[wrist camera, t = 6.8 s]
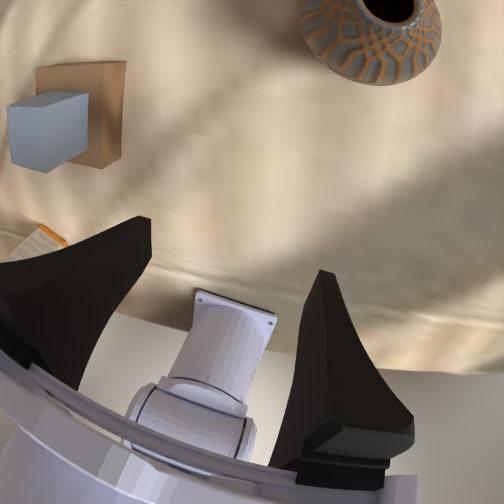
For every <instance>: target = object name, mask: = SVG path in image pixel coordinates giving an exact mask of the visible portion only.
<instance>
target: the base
mask: <svg viewBox="0 0 504 504" xmlns="http://www.w3.org/2000/svg"><path fill="white" fill-rule="evenodd" d="M126 62H127V61H102V62H79V63H65V64H56V65H51V66H47V67H42V68H38V69H37V73H36V95H39V94H42V93H46V92H49V91H70V92H89V97H88V150H86V151H84V152H82V153H80V154H79V155H77V156H75V157H73V158H71V159H70V160H68V162H73V163H77V164H82V165H86V166H90V167H95V168H99V169H103V168H104V167H106V166H108V165H109V164H111V163H113V162H114V161H116V160H118V159H119V158H121V131H122V109H123V94H124V82H125V72H126Z"/></svg>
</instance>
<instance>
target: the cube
mask: <svg viewBox="0 0 504 504" xmlns="http://www.w3.org/2000/svg"><path fill="white" fill-rule="evenodd" d="M88 97H89V92H70V91H49V92H46V93H42V94H39V95H36V96H33V97H31V98H28V99H25V100H22V101H19V102H17V103H14V104H12V105H9V106H7V121H8V134H9V145H10V154H11V161H12V164H15V165H18V166H22V167H25V168H29V169H32V170H36V171H39V172H43V173H48V172H49V171H51V170H53V169H54V168H56V167H58V166H59V165H61V164H63V163H64V162H66V161H68V160H70V159H71V158H73V157H75V156H77V155H79V154H80V153H82V152H84V151H86V150H88Z"/></svg>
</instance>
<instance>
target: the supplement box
mask: <svg viewBox="0 0 504 504" xmlns="http://www.w3.org/2000/svg"><path fill="white" fill-rule="evenodd" d="M65 247H66V242H65V241H64V240H63V239H62V238H60V237H59V236H57V235H56V234H55V233H53V232H52V231H50V230H49V229H48V228H46V227H45V226H44V225H41V226H40V227H38V228H37V229H36V230H35V231H34V232H32V233H31V234H30V235H29V236H28V237H27V238H26V239H24V240H23V241H22V242H21V243H20V244H19V245H18V246H17V247H16V248H14V249H13V250H12V251H11V252H10V253H9V254H8V255H7V256H6V257H5V258H4V259H3V260H2V261H0V263H3V262H11V261H17V260H22V259H27V258H32V257H36V256H40V255H43V254H47V253H50V252H54V251H57V250H60V249H63V248H65Z"/></svg>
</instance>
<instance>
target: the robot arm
mask: <svg viewBox="0 0 504 504" xmlns="http://www.w3.org/2000/svg"><path fill="white" fill-rule="evenodd" d="M151 257H152V246H151V219H149V218H146V217H142V216H136V217H134V218H131V219H129V220H127V221H125V222H122V223H120V224H118V225H116V226H114V227H112V228H110V229H107V230H105V231H103V232H101V233H99V234H97V235H94V236H92V237H90V238H87V239H85V240H83V241H81V242H78V243H76V244H73V245H71V246H68V247H65V248H63V249H60V250H57V251H54V252H50V253H47V254H43V255H40V256H36V257H32V258H27V259H22V260H17V261H11V262H3V263H0V409H1V410H2V411H3V412H5V413H6V414H7V415H8V416H9V417H10V418H11V419H12V420H13V421H15V422H16V423H17V424H18V426H17V427H16V429H15V431H14V433H13V434H12V436H11V438H10V440H9V442H8V443H7V445H6V447H5V449H4V451H3V453H2V455H1V457H0V504H417V497H418V481H419V476H418V475H391V476H385V469H388V468H389V467H390V459H391V458H393V457H395V456H397V455H399V454H401V453H403V452H405V451H406V450H408V449H409V448H410V447H411V446H412V445H413V444H414V437H415V436H414V435H415V430H414V429H415V426H414V416H413V415H412V414H411V413H410V412H409V410H408V409H407V408H406V407H405V406H404V405H403V404H402V403H401V401H400V400H399V399H398V398H397V397H396V396H395V394H394V393H393V392H392V391H391V389H390V388H389V387H388V385H387V384H386V382H385V381H384V380H383V378H382V377H381V375H380V374H379V372H378V371H377V369H376V367H375V366H374V364H373V363H372V361H371V359H370V358H369V356H368V354H367V352H366V351H365V349H364V347H363V345H362V343H361V341H360V339H359V337H358V335H357V333H356V330H355V328H354V326H353V323H352V321H351V319H350V316H349V313H348V311H347V308H346V306H345V303H344V300H343V297H342V294H341V291H340V288H339V285H338V282H337V279H336V276H335V274H334V273H330V272H327V271H324V270H319V272H318V275H317V277H316V279H315V282H314V284H313V286H312V288H311V291H310V293H309V295H308V297H307V300H306V302H305V304H304V308H303V313H302V317H301V322H300V327H299V336H298V345H297V354H296V362H295V371H294V377H293V383H292V387H291V391H290V395H289V399H288V403H287V407H286V410H285V414H284V417H283V421H282V424H281V428H280V431H279V434H278V438H277V441H276V444H275V447H274V450H273V453H272V456H271V458H270V461H269V464H268V466H263V465H258V464H254V463H250V462H249V459H250V456H251V453H252V450H253V447H254V443H255V438H256V432H257V427H256V425H255V423H254V421H253V419H252V418H249V417H245V416H246V413H247V409H248V406H247V405H246V402H247V399H248V395H249V392H250V388H251V385H252V382H253V378H254V375H255V371H256V368H257V365H258V363H259V360H260V358H261V356H262V354H263V352H264V349H265V347H266V345H267V343H268V340H269V338H270V336H271V333H272V331H273V329H274V327H275V324H276V322H277V316H276V315H274V314H271V313H268V312H265V311H262V310H258V309H255V308H252V307H249V306H246V305H243V304H240V303H237V302H234V301H231V300H228V299H225V298H222V297H219V296H216V295H213V294H210V293H207V292H204V291H201V290H199V291H197V292H196V295H195V304H194V315H193V326H192V328H191V330H190V332H189V334H188V336H187V338H186V340H185V342H184V344H183V346H182V348H181V350H180V352H179V354H178V356H177V358H176V360H175V362H174V364H173V366H172V369H171V370H170V373H169V375H168V377H165V376H162V377H161V379H160V381H159V383H158V385H157V384H154V383H149V384H148V385H146V386H143V387H142V388H140V390H138V392H137V393H136V394H135V396H134V397H133V399H132V401H131V403H130V405H129V407H128V409H127V412H126V415H125V417H124V416H122V415H120V414H118V413H116V412H113V411H112V410H110V409H108V408H106V407H104V406H102V405H100V404H98V403H96V402H95V401H93V400H91V399H89V398H88V397H86V396H84V395H82V394H81V393H79V392H77V391H78V388H79V385H80V382H81V379H82V376H83V374H84V371H85V368H86V366H87V363H88V361H89V359H90V356H91V354H92V351H93V349H94V347H95V345H96V343H97V341H98V339H99V337H100V335H101V333H102V331H103V329H104V328H105V326H106V324H107V322H108V320H109V319H110V317H111V315H112V314H113V312H114V311H115V309H116V308H117V307H118V305H119V304H120V303H121V301H122V300H123V299H124V297H125V296H126V295H127V293H128V292H129V291H130V289H131V288H132V287H133V285H134V284H135V283H136V281H137V280H138V279H139V277H140V276H141V275H142V273H143V271H144V270H145V268H146V266H147V264H148V263H149V261H150V259H151ZM57 401H58V402H59V403H58V402H57ZM60 403H61V404H62V405H64V406H66V407H67V408H69V409H70V410H72V411H74V412H75V413H77V414H79V415H80V416H82V417H84V418H85V419H87V420H89V421H91V422H92V423H94V424H96V425H98V426H99V427H101V428H103V429H105V430H107V431H109V432H111V433H113V434H115V435H117V436H119V437H121V443H118V442H117V441H115V440H112V439H111V438H109V437H107V436H105V435H103V434H101V433H99V432H98V431H96V430H94V429H92V428H90V427H89V426H87V425H85V424H83V423H82V422H80V421H78V420H76V419H74V417H73V416H72V415H71V414H70V413H69V411H68V410H67V409H66V408H65V407H64V406H62V405H61V404H60Z"/></svg>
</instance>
